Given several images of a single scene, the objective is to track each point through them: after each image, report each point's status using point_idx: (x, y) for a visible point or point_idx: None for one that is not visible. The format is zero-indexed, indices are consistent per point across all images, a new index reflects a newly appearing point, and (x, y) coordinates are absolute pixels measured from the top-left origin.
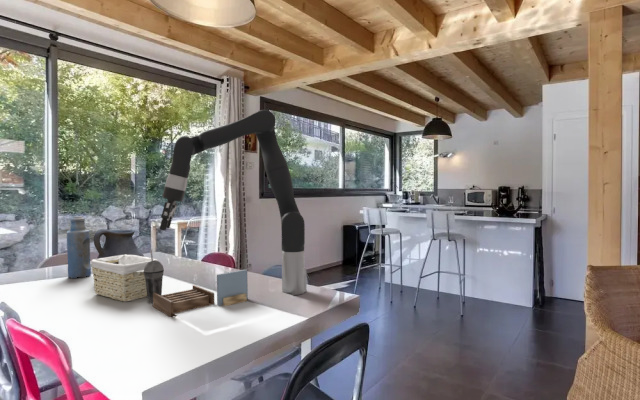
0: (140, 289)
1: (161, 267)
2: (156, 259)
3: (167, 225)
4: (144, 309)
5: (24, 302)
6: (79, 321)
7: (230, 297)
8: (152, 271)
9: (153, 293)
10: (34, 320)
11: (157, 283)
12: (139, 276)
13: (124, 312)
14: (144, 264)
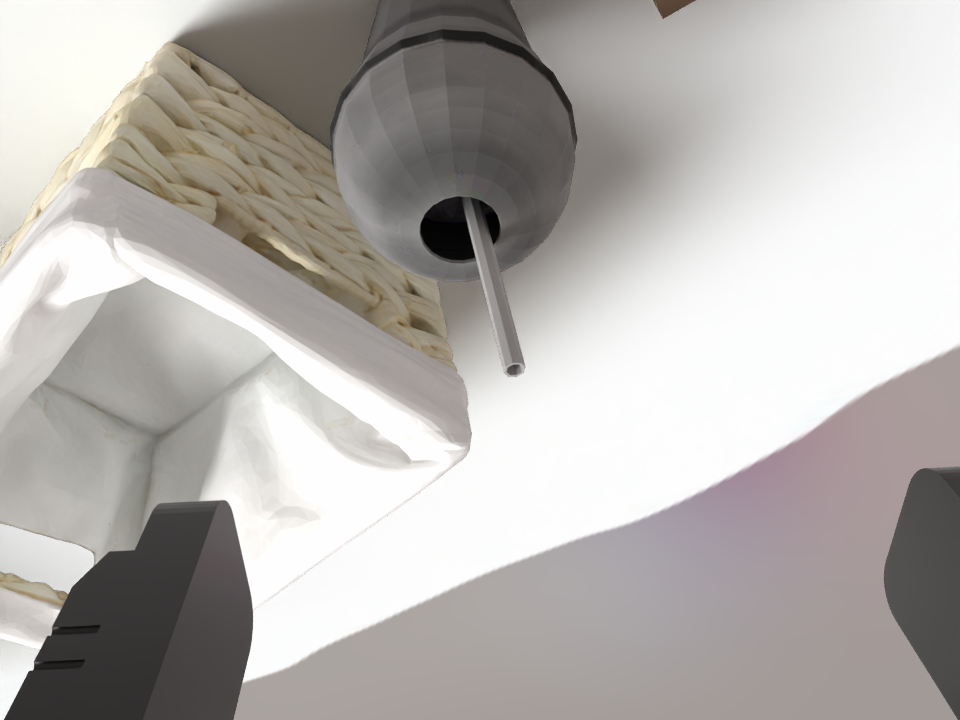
0: (318, 186)
1: (505, 77)
2: (59, 249)
3: (216, 613)
4: (687, 26)
5: (323, 618)
6: (771, 335)
7: None
8: (574, 152)
9: (671, 11)
10: (648, 496)
11: (522, 33)
12: (319, 268)
13: (703, 155)
14: (294, 312)
